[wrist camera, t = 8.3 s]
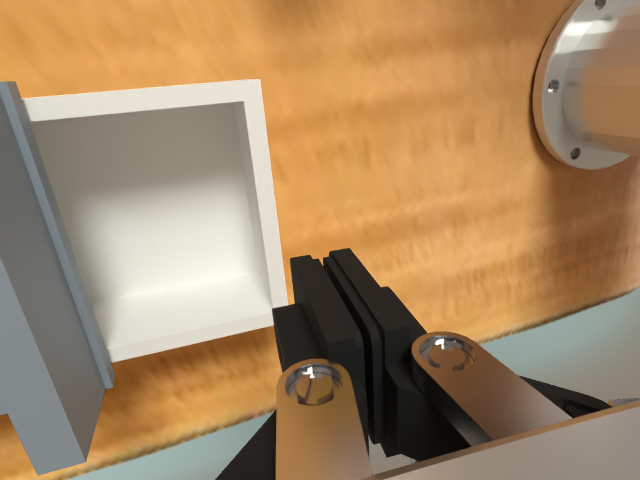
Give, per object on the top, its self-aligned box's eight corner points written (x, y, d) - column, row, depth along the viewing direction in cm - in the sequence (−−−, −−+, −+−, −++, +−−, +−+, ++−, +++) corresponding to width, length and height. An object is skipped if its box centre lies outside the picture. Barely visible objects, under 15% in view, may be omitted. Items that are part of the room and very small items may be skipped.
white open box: (243, 79, 22) (259, 78, 17) (270, 273, 27) (290, 321, 22) (-56, 104, 19) (-153, 113, 14) (33, 321, 24) (-13, 391, 18)
